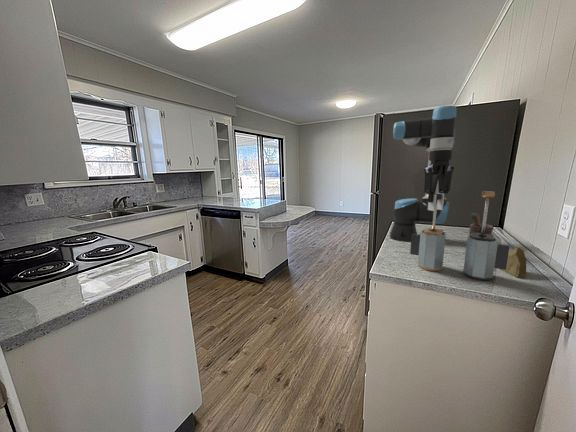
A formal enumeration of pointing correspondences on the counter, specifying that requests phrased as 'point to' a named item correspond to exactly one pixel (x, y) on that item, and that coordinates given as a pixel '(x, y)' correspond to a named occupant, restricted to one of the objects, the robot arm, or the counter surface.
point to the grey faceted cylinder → (429, 249)
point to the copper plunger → (438, 197)
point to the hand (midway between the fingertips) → (435, 209)
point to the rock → (516, 263)
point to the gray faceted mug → (484, 256)
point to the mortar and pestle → (479, 226)
